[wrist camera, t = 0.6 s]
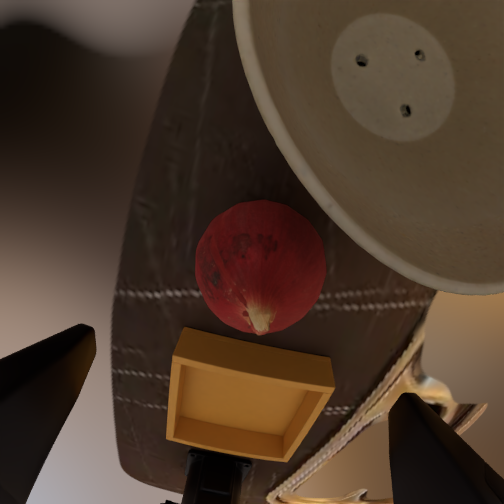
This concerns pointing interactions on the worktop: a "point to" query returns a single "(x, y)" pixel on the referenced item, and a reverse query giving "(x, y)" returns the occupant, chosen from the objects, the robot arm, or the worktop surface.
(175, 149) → the worktop surface
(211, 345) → the amber tray
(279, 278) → the onion
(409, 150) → the flower pot
